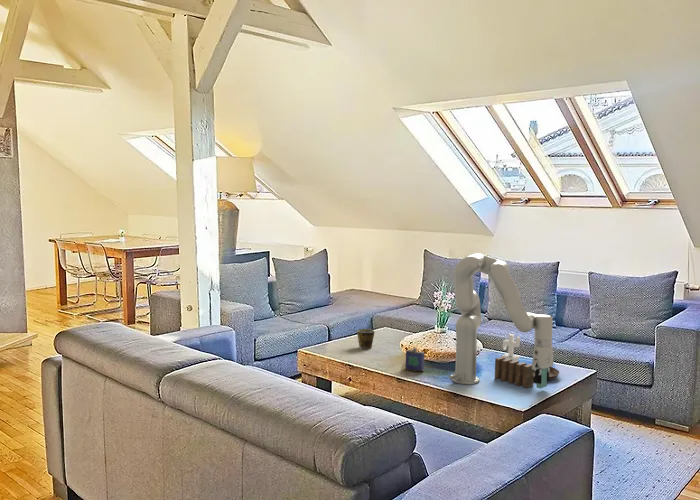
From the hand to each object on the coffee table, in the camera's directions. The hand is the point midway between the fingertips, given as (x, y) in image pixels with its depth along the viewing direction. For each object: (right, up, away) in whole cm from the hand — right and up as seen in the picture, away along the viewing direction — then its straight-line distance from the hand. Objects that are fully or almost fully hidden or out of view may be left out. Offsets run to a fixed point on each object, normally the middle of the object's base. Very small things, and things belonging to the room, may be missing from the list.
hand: (541, 381), depth 285 cm
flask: (-54, -1, +30) cm, 62 cm away
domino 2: (-12, -3, +15) cm, 20 cm away
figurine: (-2, 0, +47) cm, 47 cm away
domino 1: (-15, -2, +18) cm, 24 cm away
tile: (0, -2, 0) cm, 3 cm away
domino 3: (-10, -3, +12) cm, 16 cm away
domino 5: (-5, -4, +6) cm, 8 cm away
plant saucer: (+5, -3, +23) cm, 24 cm away
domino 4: (-7, -3, +9) cm, 12 cm away
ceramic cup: (-78, +3, +72) cm, 107 cm away
